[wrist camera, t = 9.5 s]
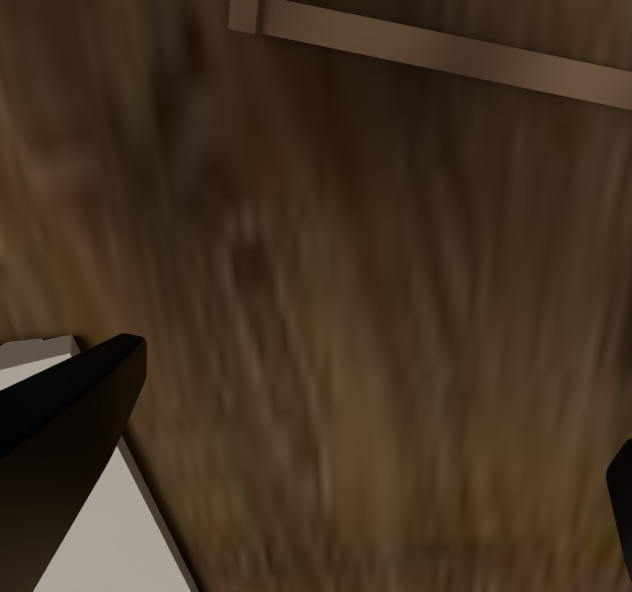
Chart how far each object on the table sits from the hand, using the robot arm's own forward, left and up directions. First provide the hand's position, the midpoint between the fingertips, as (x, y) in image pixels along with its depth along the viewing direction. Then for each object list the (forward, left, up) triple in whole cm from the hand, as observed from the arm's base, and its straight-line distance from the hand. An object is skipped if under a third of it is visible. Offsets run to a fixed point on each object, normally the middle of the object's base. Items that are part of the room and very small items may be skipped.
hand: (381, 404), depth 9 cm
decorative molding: (+11, +28, -13) cm, 32 cm away
